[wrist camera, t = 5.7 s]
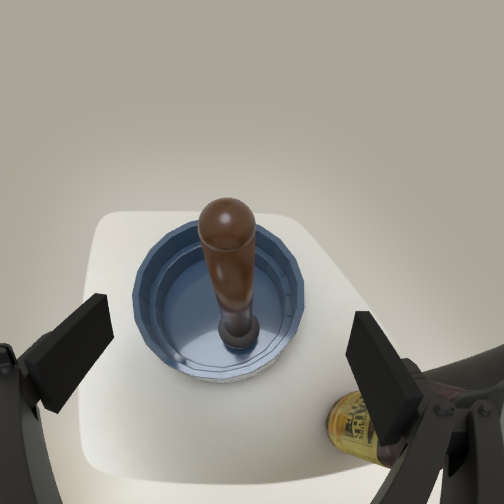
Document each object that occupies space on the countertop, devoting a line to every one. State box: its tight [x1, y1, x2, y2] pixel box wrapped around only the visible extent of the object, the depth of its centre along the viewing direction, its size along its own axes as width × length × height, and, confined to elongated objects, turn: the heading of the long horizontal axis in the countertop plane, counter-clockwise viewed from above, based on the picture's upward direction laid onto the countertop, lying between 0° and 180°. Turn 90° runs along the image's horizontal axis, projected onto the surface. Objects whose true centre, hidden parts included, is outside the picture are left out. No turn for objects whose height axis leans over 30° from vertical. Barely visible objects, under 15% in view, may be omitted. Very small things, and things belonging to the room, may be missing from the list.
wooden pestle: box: [198, 198, 260, 349], centre depth 18 cm, size 4×4×19 cm
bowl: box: [132, 220, 304, 383], centre depth 26 cm, size 14×14×6 cm
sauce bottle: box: [326, 380, 504, 470], centre depth 14 cm, size 7×6×20 cm
